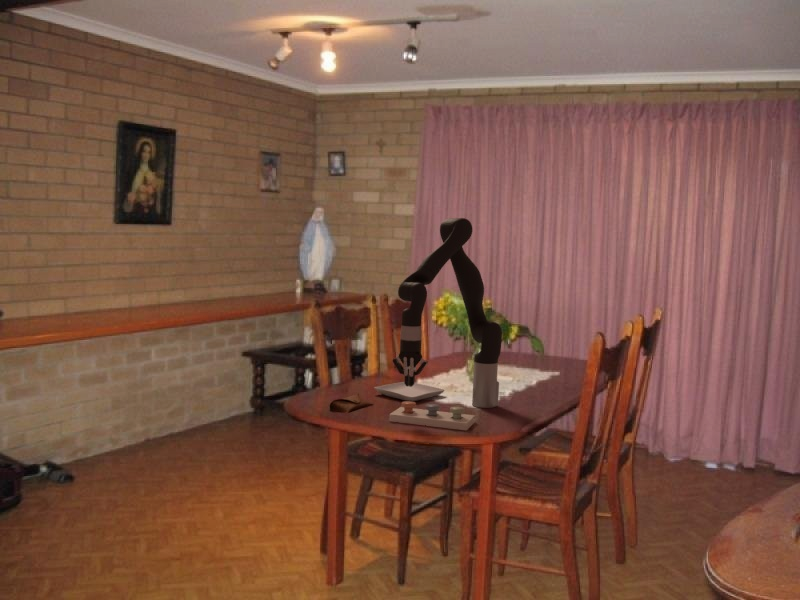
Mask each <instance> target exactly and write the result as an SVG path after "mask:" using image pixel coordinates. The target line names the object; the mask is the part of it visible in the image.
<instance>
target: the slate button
mask: <svg viewBox="0 0 800 600" xmlns="http://www.w3.org/2000/svg"><path fill="white" fill-rule="evenodd" d="M424 407H425V408H424V410H428V416H434V417H437V411H440V410H441V405H440V404H437V403H429V404H425V406H424Z"/></svg>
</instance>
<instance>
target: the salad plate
mask: <svg viewBox="0 0 800 600" xmlns="http://www.w3.org/2000/svg"><path fill="white" fill-rule="evenodd" d="M404 382H405V381H401V382H394V383H388V384H383V385H380V386H374V387H373V388H374V390H375V391H377V392H378V393H380V394H381V395H384V396H387V397H389V398H393V399H398V400H402V401H411V402H416V401H420V400H425V399H429V398H430V399H431V398H433V396H434V397H436V396H440V395H441V394H443V393H444V392H445V391H446V389H445V388H439V387H435V386H432V385H431V386H430V385H427V384H421V383H418V382H415V383H414V385H413V386H412V387H410V386H406V385H405V383H404Z"/></svg>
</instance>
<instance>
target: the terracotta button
mask: <svg viewBox="0 0 800 600" xmlns="http://www.w3.org/2000/svg"><path fill="white" fill-rule="evenodd" d="M400 407H404V413H408V414H413V408H414V409H416V408H417V403H416V401H406V400H404V401H402V402H401V406H400Z"/></svg>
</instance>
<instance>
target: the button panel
mask: <svg viewBox="0 0 800 600" xmlns="http://www.w3.org/2000/svg"><path fill="white" fill-rule="evenodd" d="M388 421H389V422H394V423H400V424H401V423H402V424H410V425H419V426H425V425H426V427H427V426H428V427H435V428H441V429H442V428H443V429H450V430H460V431H468V430H469V428H470V427H471V426H472V425H474V424H475V423H476V422H475V421H476V415H474V414H466V413H462V414H461V420H460V419H453V413H451V412H450V411H449V412H447V411H440V410H438V411H437V417H434V416H428V410H426V409H421V408H413V414H408V413H404V407H402V406H400V407H399V408H397V409H395V410H394V411H392V412H391V413H389V419H388Z"/></svg>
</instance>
